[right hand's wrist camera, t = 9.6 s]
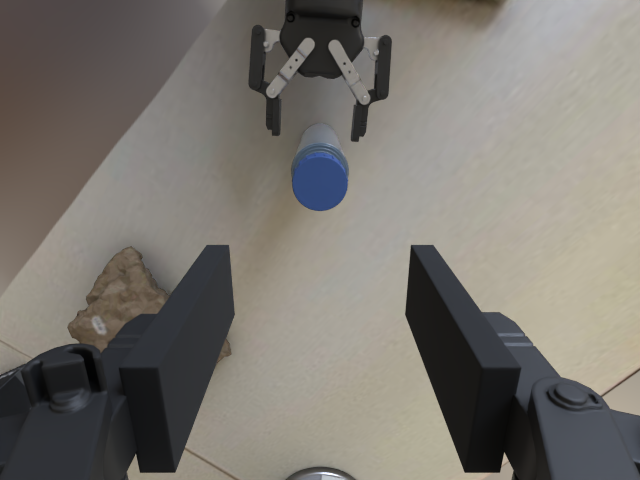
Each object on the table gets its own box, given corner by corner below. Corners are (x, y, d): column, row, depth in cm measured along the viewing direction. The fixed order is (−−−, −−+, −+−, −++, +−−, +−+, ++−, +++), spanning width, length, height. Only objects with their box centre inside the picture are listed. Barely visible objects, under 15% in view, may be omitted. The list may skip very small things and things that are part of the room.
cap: (336, 211, 31) (337, 218, 30) (286, 195, 31) (284, 201, 29) (354, 162, 30) (356, 166, 28) (302, 144, 30) (301, 148, 28)
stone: (46, 307, 55) (29, 331, 50) (131, 237, 55) (124, 253, 50) (161, 391, 64) (159, 419, 59) (235, 331, 64) (239, 353, 59)
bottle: (331, 166, 52) (339, 222, 30) (296, 154, 51) (279, 203, 30) (343, 130, 50) (362, 162, 29) (308, 117, 50) (298, 141, 28)
